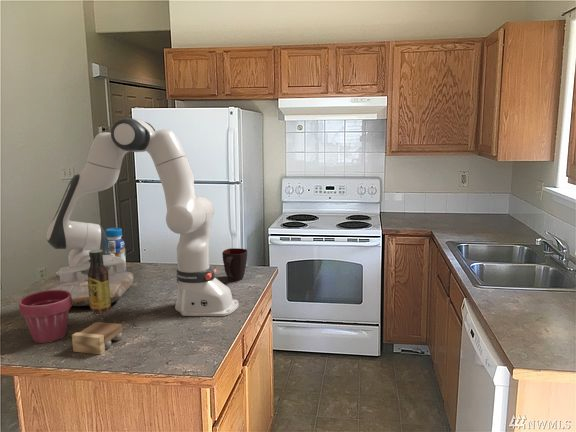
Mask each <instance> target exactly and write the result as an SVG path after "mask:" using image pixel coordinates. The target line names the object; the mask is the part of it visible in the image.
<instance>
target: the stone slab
mask: <svg viewBox="0 0 576 432" xmlns="http://www.w3.org/2000/svg"><path fill="white" fill-rule="evenodd" d="M108 278H109V288H110V300H111V304H112V303H115V302H117V301H119V300H121V298H122V297H123V295H124V294H125V293H126V292H127V291H128V290H129V288H131V286H132V284H134V283H133V282H134V280H135V276H134V274H133V272H131V271H126V272H122V273H117V274H113V276H108ZM48 290H65V291H68V292H70V293H71V298H72V306H71V307H86V306H89V307H90V301H89V290H88V280H87V281H83V280H79V281H74V282H68V283H61V281H60V280H57V281H55V282H53V283H52V284H51V285H50V286H49V287H48V288H47V289H46V290H45V291H48Z"/></svg>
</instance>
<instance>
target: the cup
mask: <svg viewBox="0 0 576 432" xmlns="http://www.w3.org/2000/svg"><path fill="white" fill-rule="evenodd" d="M221 254H222V262H223V267H224V273H225V275H226V278H227V280H228V281H233V282H234V281H235V282H239V281H241V280H243V279H244V276H245V271H246V268H247V267H246V266H247V261H248V249H247V248H246V249H245V248H238V247H237V248H236V247H234V248H226V249H224V250H223V251H222V253H221Z"/></svg>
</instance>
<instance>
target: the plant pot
mask: <svg viewBox="0 0 576 432" xmlns="http://www.w3.org/2000/svg"><path fill="white" fill-rule="evenodd" d="M18 306H19V314H20V315H21V316H22V317H24V320H25V322H26V325H27V328H28V330H29V332H30V334H31V337H32V340H33V342H34V343H35V342H36V343H38V344H39V343H40V344H42V343H51V342H56V341H58V340H60V339H62V338H64V337H65V336H66V334H67V326H68V321H69V312H70V309H71V307H73V306H72V298H71V293H70V292H68V291H65V290H48V291H46V290H42V291H37V292H34V293H30V294H27V295H26V296H23V297H22V298H20V300H19V302H18Z"/></svg>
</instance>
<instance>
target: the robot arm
mask: <svg viewBox="0 0 576 432" xmlns="http://www.w3.org/2000/svg"><path fill="white" fill-rule="evenodd" d="M142 152H147V154H148V155H150V157H151V159H152V162H153V164H154V168H155V170H156V172H157V175H158V177H159V181H160V183H161V185H162V189H163V192H164V199H165V204H166V215H165V222H166V223H165V224H166V226H167V227H168V229H169V230H170V231H171V232H173V233H175V234H178V235H179V240H178V243H177V247H176V259H177V269H176V282H177V296H176V302H175V307H174V308H175V310H176V311H177V312H178V313H180V315H181V316H183V317H184V316H185V317H186V316H187V317H225V316H228V315H231V314H232V313H234V312H235V311H236V310H237V309H238V308H239V306H240V305H239V301H238V300H237V299H233V295H232V292H231V289H230V287H228V286H227V285H226V284H224V283H223V282H222V281H220V280H219V279H218V278H216V277H215V276H216V272H217V268H215V269H212V267H211V266H210V241H211V240H210V239H211V232H212V231H211V230H212V223H213V217H214V213H215V207H214V204H213V202H212V201H211V200H210V199H209V198H207V197H204V196H200V195H196V190H195V176H194V173H193V171H192V168H191V165H190V163H189V160H188V158H187V155H186V152H185V149H184V147H183V145H182V144H181V142H180V140H179V138H178V137H177V135H176V133H175V132H174V131H172V130H170V129H164V128H163V129H158V130H155V127H153V125H152V124H151V123H149V122H146V121H143V120H142V119H138V118H130V117H125V118H120V119H119V120H117V121H116V122H115V123H113V125H112V126H111V131H110V132H107V131H106V132H104V131H103V132H100V133H98V134H96V136H95V137H94V139H93V141H92V144H91V146H90V149H89V152H88V155H87V160H86V163H85V165H84V167H83V169H82V170H81V172H79V173H78V174H74V175H73V176H72V177H71V179H70V181H69V183H68V185H67V187H66V190H65V191H64V194H63V196H62V199H61V201H60V203H59V205H58V207H57V211H56V212H55V215H54V217H53V219H52V221H51V222H50V224H49V226H48V228H47V232H46V241H47V243H48V244H49V245H50V246H51V247H52V248H53V249H56V250H70V252H69V254H68V257H67V258H68V266H63V267H61V268H59V270H58V271H55V272H56V273H55V274H56V276H57V277H59V281H61V283H68V282H74V281H79V280H83V281H87V280H88V272H89V268H90V263H91V262H90V256H89V252H90V251H91V250H96V249H101V250H103V252H104V253H103V262H104V263H103V265H104V266H105V267H106V268H107V270H108V276H113V274H117V273H122V272H125V271H126V272H127V263H126V264H125V261H124V260H123V259H121V258H120V257H117V256H115V254H113V253H105V249H106V247H105V245H106V240H107V237H106V230H104V228H103V226H101V225H100V224H98V223H93V222H83V221H75V220H70V217H71V216H72V213H73V211H74V208H75V206H76V204H77V201H78V200H79V199H80V198H81V197H82V196H85V195H88V194H90V193H97V192H103V191H105V190H107V189H110V188H112V187H113V186H114V185H115V184H116V183H117V181H118V179H119V176H120V173H121V169H122V168H121V167H122V165H123V164H122V163H123V160H124V157H125V155H126V154H127V153H142Z"/></svg>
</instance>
